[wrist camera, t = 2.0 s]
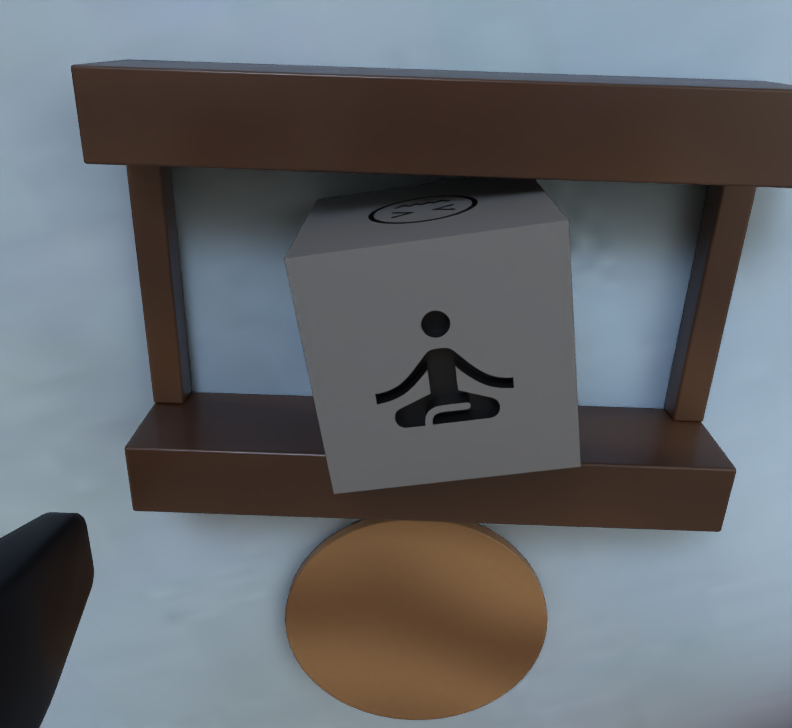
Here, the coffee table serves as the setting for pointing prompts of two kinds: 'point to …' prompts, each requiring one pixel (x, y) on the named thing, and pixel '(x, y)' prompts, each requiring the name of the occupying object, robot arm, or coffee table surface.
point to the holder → (433, 156)
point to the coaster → (416, 617)
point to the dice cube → (438, 332)
